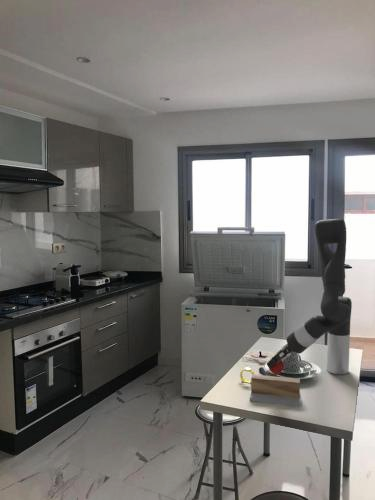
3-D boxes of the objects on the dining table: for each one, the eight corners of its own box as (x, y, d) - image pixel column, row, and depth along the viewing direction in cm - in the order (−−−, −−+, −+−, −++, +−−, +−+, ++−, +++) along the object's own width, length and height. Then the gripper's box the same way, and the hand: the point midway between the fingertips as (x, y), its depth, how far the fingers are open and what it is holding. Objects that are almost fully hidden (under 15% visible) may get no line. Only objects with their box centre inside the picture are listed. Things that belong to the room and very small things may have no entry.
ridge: (252, 389, 168) (252, 374, 167) (299, 394, 163) (299, 378, 163) (251, 392, 165) (251, 377, 164) (299, 398, 160) (299, 382, 159)
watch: (255, 383, 178) (256, 369, 177) (252, 385, 175) (253, 371, 174) (241, 379, 181) (242, 365, 180) (239, 381, 178) (240, 367, 177)
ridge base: (253, 387, 172) (253, 384, 172) (299, 392, 168) (299, 389, 167) (249, 400, 161) (249, 397, 161) (299, 406, 156) (299, 403, 156)
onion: (285, 373, 164) (286, 353, 163) (281, 379, 159) (281, 358, 158) (271, 371, 167) (271, 351, 166) (266, 376, 162) (266, 355, 161)
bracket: (274, 370, 192) (274, 364, 191) (291, 383, 178) (292, 377, 177) (245, 374, 188) (245, 368, 187) (260, 388, 174) (260, 381, 173)
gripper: (302, 325, 163) (273, 350, 171) (288, 334, 151) (257, 360, 159) (316, 341, 160) (285, 365, 168) (302, 352, 149) (270, 377, 157)
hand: (271, 363), depth 164 cm, fingers closed on onion, 5 cm apart
